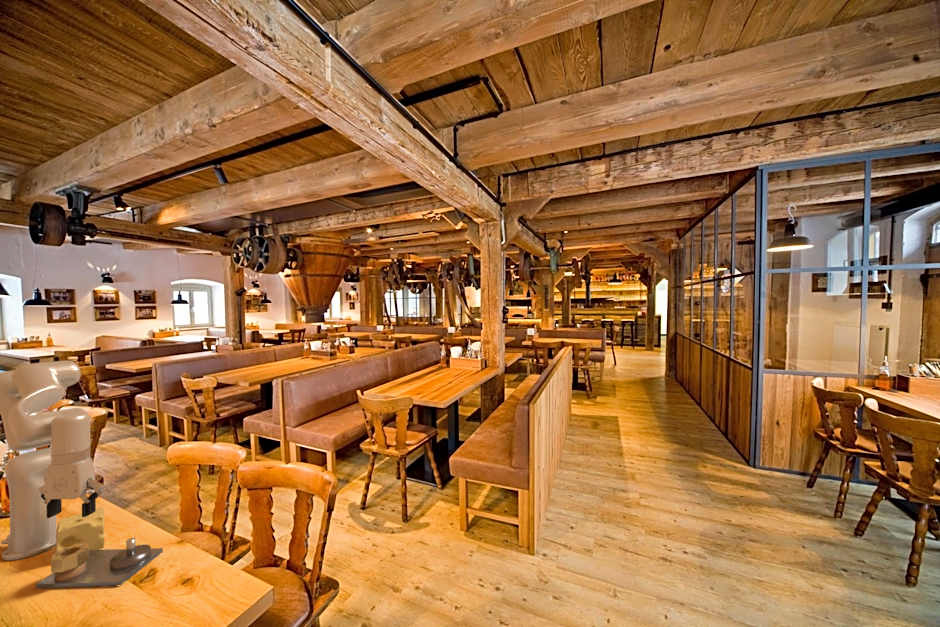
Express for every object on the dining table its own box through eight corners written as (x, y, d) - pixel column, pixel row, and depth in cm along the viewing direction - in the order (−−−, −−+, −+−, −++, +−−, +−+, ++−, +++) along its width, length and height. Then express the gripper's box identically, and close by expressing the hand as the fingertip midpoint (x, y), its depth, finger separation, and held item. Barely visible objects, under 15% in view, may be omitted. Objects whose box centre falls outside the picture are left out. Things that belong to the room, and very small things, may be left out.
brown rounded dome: (47, 586, 97) (47, 571, 97) (71, 570, 103) (71, 556, 103) (69, 585, 98) (69, 570, 98) (92, 569, 104) (92, 555, 104)
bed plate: (35, 588, 97) (35, 584, 97) (89, 553, 111) (89, 550, 111) (119, 586, 97) (119, 582, 97) (162, 551, 111) (162, 548, 111)
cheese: (104, 547, 113) (104, 517, 114) (53, 565, 106) (53, 532, 106) (104, 534, 121) (104, 505, 121) (56, 549, 113) (56, 519, 113)
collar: (43, 572, 97) (43, 560, 97) (71, 555, 104) (71, 543, 104) (69, 572, 97) (69, 559, 97) (95, 554, 104) (95, 543, 104)
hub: (100, 574, 102) (100, 550, 102) (129, 553, 111) (129, 530, 111) (132, 573, 102) (132, 549, 102) (158, 552, 111) (158, 530, 111)
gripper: (24, 462, 97) (24, 523, 97) (88, 461, 97) (88, 522, 97) (55, 451, 104) (55, 508, 104) (114, 450, 105) (115, 507, 105)
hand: (71, 514), depth 101 cm, fingers open, 9 cm apart
